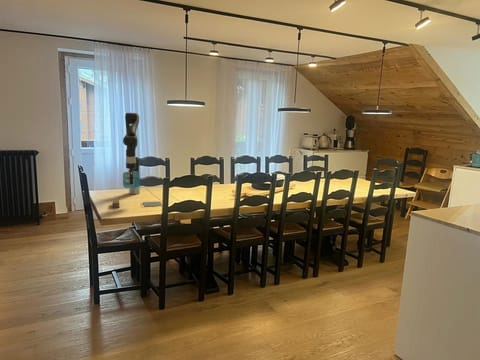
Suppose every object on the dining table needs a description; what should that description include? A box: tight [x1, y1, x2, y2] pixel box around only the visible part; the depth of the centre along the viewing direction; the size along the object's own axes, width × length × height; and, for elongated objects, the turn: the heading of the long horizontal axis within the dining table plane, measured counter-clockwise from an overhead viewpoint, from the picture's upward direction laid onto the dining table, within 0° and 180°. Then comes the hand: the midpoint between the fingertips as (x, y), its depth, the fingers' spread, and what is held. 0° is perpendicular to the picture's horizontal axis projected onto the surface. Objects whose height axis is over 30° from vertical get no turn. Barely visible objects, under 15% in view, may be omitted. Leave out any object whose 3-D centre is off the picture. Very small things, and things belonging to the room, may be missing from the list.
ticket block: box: [112, 198, 120, 209], centre depth 287 cm, size 12×5×4 cm, turn 19°
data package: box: [122, 171, 141, 189], centre depth 288 cm, size 12×4×12 cm, turn 123°
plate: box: [140, 200, 163, 208], centre depth 296 cm, size 14×16×1 cm
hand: (131, 183), depth 288 cm, fingers closed on data package, 5 cm apart
